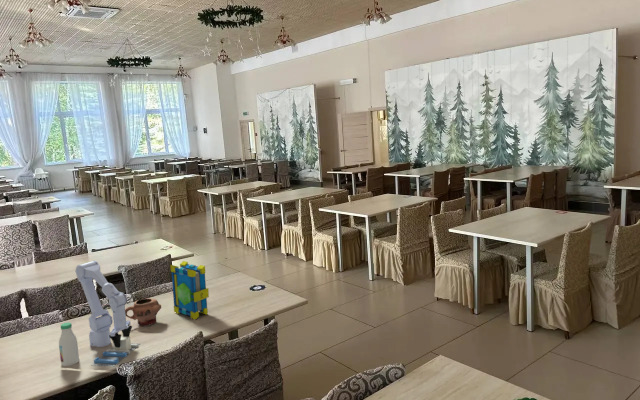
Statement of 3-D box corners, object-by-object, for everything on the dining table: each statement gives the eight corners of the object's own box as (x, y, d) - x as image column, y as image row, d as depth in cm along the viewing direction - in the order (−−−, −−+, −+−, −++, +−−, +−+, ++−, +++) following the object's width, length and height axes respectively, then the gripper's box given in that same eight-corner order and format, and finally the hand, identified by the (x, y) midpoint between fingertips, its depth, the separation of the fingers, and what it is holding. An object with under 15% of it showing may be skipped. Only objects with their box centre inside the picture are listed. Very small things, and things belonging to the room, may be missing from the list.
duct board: (90, 367, 225) (89, 361, 225) (119, 344, 249) (119, 339, 248) (113, 368, 223) (113, 363, 223) (141, 345, 247) (140, 340, 246)
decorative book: (193, 321, 276) (189, 271, 271) (169, 313, 290) (165, 265, 285) (212, 313, 287) (209, 265, 282) (188, 305, 301) (185, 259, 296)
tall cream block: (113, 350, 239) (112, 339, 238) (118, 347, 243) (117, 336, 242) (126, 351, 238) (125, 340, 237) (131, 348, 242) (130, 336, 241)
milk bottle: (82, 359, 233) (78, 320, 230) (74, 367, 226) (70, 327, 223) (66, 360, 233) (61, 321, 230) (58, 368, 225) (53, 327, 222)
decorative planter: (128, 332, 263) (126, 308, 261) (123, 325, 273) (121, 302, 271) (165, 323, 275) (163, 299, 273) (158, 316, 285) (156, 294, 283)
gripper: (118, 324, 230) (121, 350, 232) (134, 312, 245) (137, 337, 247) (105, 323, 232) (107, 350, 234) (122, 312, 246) (124, 337, 248)
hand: (122, 343), depth 240 cm, fingers open, 7 cm apart
